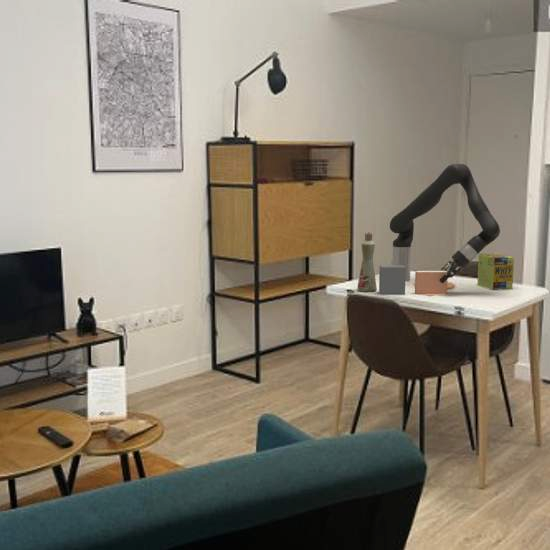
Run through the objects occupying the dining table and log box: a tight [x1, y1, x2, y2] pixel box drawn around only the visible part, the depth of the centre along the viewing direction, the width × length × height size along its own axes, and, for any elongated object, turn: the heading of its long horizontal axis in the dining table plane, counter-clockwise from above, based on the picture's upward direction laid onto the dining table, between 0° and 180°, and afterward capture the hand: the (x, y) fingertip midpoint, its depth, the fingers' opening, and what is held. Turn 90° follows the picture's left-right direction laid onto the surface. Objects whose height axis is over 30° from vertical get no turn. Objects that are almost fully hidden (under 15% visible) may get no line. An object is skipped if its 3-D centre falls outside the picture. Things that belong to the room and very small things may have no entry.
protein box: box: [477, 253, 515, 291], centre depth 326 cm, size 10×15×16 cm
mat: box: [421, 294, 444, 297], centre depth 311 cm, size 10×10×1 cm
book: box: [414, 270, 448, 295], centre depth 310 cm, size 14×4×10 cm, turn 89°
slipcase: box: [378, 264, 406, 296], centre depth 310 cm, size 11×6×13 cm, turn 89°
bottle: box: [357, 231, 378, 293], centre depth 316 cm, size 9×9×28 cm
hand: (438, 280), depth 310 cm, fingers open, 8 cm apart
